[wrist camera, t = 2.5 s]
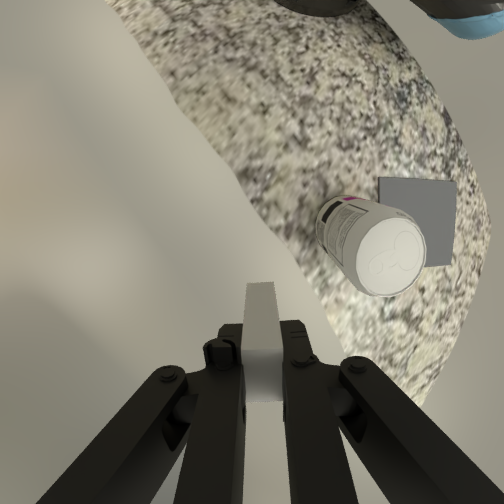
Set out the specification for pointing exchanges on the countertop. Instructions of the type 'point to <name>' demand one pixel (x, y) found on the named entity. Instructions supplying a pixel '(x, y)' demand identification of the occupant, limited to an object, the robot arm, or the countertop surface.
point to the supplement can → (372, 244)
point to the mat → (425, 211)
